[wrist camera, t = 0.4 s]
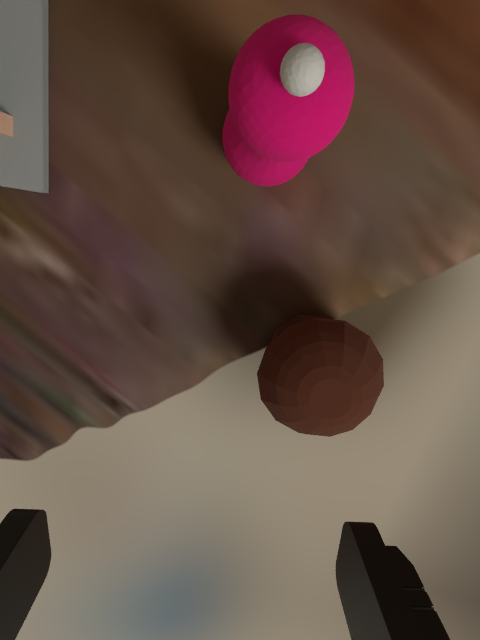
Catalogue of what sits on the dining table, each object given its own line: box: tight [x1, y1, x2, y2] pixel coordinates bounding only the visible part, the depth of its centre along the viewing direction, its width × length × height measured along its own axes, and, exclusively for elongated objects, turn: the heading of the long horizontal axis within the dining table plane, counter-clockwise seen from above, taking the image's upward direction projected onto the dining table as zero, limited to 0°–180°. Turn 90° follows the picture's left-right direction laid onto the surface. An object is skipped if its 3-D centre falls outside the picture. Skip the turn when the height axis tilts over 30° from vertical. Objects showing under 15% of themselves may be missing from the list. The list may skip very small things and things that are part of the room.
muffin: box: [257, 314, 384, 437], centre depth 34 cm, size 12×11×10 cm
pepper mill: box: [222, 15, 354, 186], centre depth 23 cm, size 7×7×20 cm
